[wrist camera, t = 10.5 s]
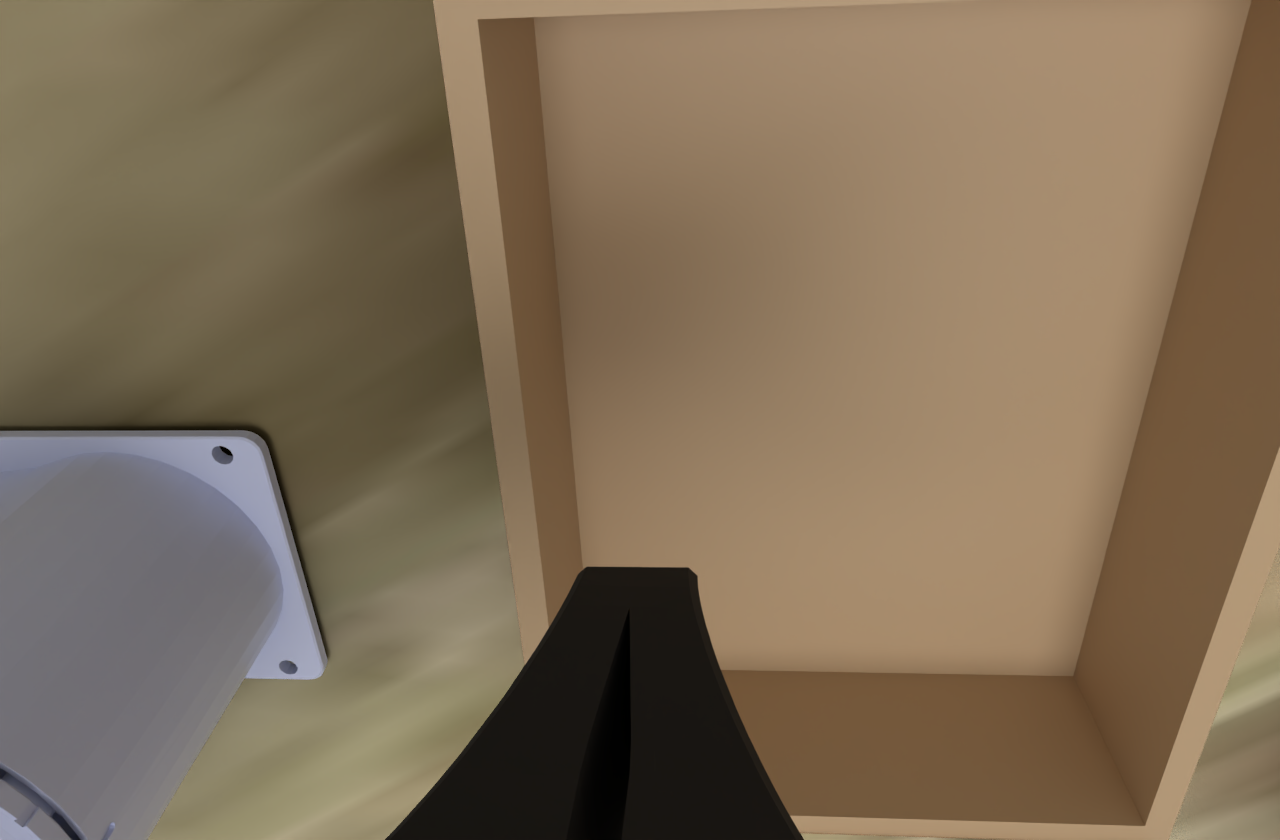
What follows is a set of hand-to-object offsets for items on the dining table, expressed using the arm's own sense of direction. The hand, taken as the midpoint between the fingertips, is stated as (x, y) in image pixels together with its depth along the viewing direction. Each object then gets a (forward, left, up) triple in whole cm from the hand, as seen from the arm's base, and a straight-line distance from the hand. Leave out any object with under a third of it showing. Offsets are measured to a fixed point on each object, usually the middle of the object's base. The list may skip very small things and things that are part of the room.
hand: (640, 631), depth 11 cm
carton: (+4, -2, -10) cm, 11 cm away
